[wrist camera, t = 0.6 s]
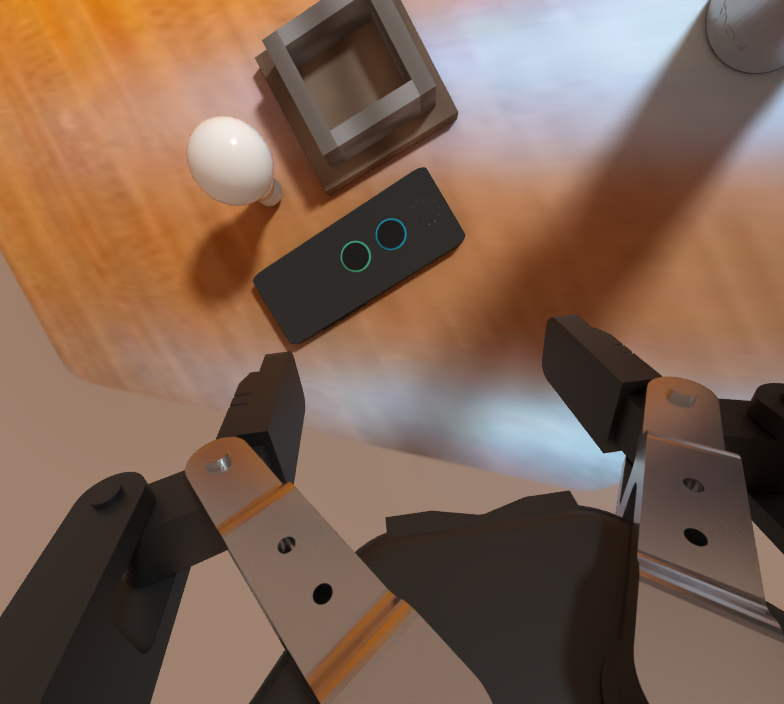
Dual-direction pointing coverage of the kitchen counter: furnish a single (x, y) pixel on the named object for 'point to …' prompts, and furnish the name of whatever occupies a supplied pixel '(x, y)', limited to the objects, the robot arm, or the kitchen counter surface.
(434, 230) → the smart home device
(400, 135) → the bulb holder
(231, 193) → the lightbulb
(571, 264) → the kitchen counter surface
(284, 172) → the kitchen counter surface
